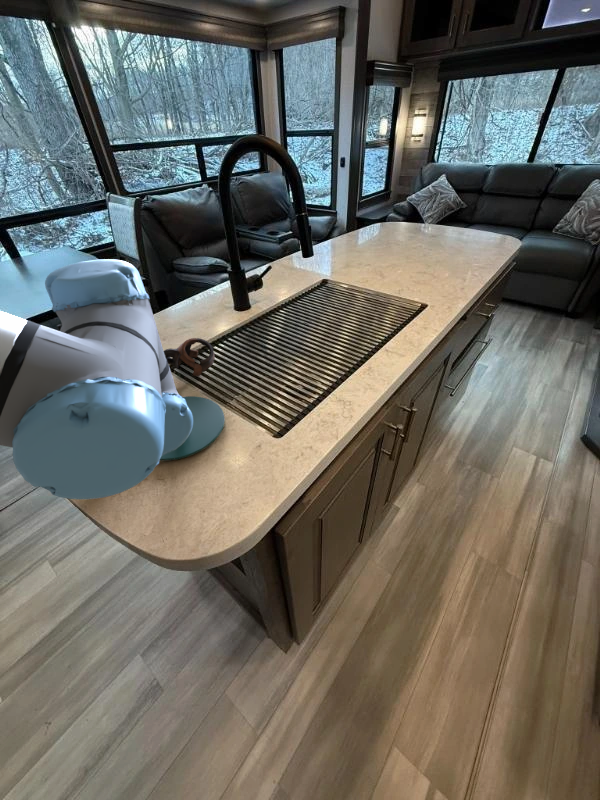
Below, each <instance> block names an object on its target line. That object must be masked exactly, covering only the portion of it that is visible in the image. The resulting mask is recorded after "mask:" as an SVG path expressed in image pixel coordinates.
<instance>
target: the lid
mask: <svg viewBox="0 0 600 800" xmlns="http://www.w3.org/2000/svg"><path fill="white" fill-rule="evenodd" d="M182 398H184V399H185V400H186V403H187V406H188V408H189V409H190V411H191V413H192V416H193V427H192V430H191V433H190V435H189V436H188V438H187V439H186V441H185V442H184V443H183V444H182V445H181V446H179V447H178V448H177V449H175V450H173V451H171V452H169V453H167V454H165V455H162V456H161V458H160V461H161V462H167V461H176V460H180V459H185V458H189V457H191V456H193V455H195V454H197V453H200V452H201V451H203V450H204V449H207V448H208V447H209V446H210V445H211V444H213V443H214V442H215V441H216V440H217V439H218V438H219V437H220V435H221V433H222V432H223V429H224V426H225V422H226V420H225V419H226V418H225V412H224V411H223V409H222V407H221V406H220V405H219V404H218V403H216V402H215V401H213V400H212V399H209V398H206V397H203V396H195V395H194V396H193V395H191V396H190V395H189V396H188V395H186V396H182ZM160 461H159V462H160Z"/></svg>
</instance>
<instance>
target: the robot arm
mask: <svg viewBox="0 0 600 800" xmlns="http://www.w3.org/2000/svg"><path fill="white" fill-rule="evenodd" d="M44 287H45V290H46V293H47V294H48V297H49V299H50V302H51V304H52V307H51V310H52V311H53V312H54V313H55V314H56V316H57V317H58V319H59V320H60V323H59V324H57V325H56V327H57V329H58V330H57V329H54V328H52V327H48V326H45V325H43V324H39V323H36V322H34V321H31V320H27V319H24V318H21V317H18V316H15V315H12V314H10V313H7V312H4V311H2V310H0V446H2V447H8V448H12V460H13V465H14V466H15V469H16V470H17V472H18V473H19V475H20V476H22V478H23V479H24V481H26V482H27V483H28V484H29V485H31V486H32V487H34V488H35V487H36V488H37V487H39V488H42V489H43V490H44V489H45V490H46V491H49V492H50V494H51V495H52V496H54V497H58V498H62V499H69V500H94V499H95V500H96V499H102V498H108V497H112V496H115V495H118V494H121V493H124V492H125V491H128V490H130V489H132V488H134V487H136V486H137V485H138V484H140V483H142V482H143V481H144V480H145V479H147V477H149V475H151V474H152V472H154V470H155V468H156V467H157V466H158V465H159V464H160V458H161V456H162V455H165V454H167V453H169V452H171V451H173V450H175V449H177V448H178V447H179V446H181V445H182V444H183V443H184V442H185V441H186V439H187V438H188V436H189V435H190V433H191V430H192V427H193V416H192V413H191V411H190V409H189V408H188V406H187V403H186V400H185V399H184V398H182V397H183V396H182V395H180V393H179V392H178V390H177V387H176V383H175V381H174V377H173V374H172V370H171V368H170V364H168V362H167V359H166V358H165V354H164V348H163V344H162V341H161V337H160V334H159V330H158V326H157V323H156V320H155V316H154V313H153V309H152V307H151V303H150V299H151V298H150V295H149V294H148V293H147V291H146V288H145V286H144V283H143V280H142V278H141V275H140V272H139V270H138V269H137V267H135V266H134V264H132V263H129V262H127V261H125V260H120V259H109V258H108V259H105V258H104V259H93V260H91V259H90V260H85V261H79V262H74V263H70V264H67V265H63V266H62V267H58V268H56V269H55V270H53V271H52V272H50V273H49V274H47V276H46V278H45V280H44Z"/></svg>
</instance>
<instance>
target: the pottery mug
mask: <svg viewBox="0 0 600 800" xmlns="http://www.w3.org/2000/svg"><path fill="white" fill-rule="evenodd" d="M197 343H198V344H201V345H202V346H205V347H206V348H208V350H209V354H208V356H207V357H205V358H204V359H201V360H200V359H199V363H196V362H195V361H196V359H194V358H198V353H199V350H197V349H192V348H191V347H193V346H192V345H195V344H197ZM163 351H164V354H165V358H166V359H167V362H168V365H169V366H170V365H171V366H173V367H174V368H175V369H179V366H181V363H182V362H183V363H185V364H186V365H187V366H189V367H190V368H192V369H193V372H192V376H194V377H200V376H201V375H202V373H205V372H206V371H208V370H209V369H210V368H211V367H212V365H214V361H215V352H214V348H213V346H212V345H211V343H210V342H209V341H207V340H206V339H204V338H199V337H192V338H191V337H190V338H188V339H186V340H185V341H183V342H182V343H181V344H180V345H179V346H178V347H177V348H166V349H163Z"/></svg>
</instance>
